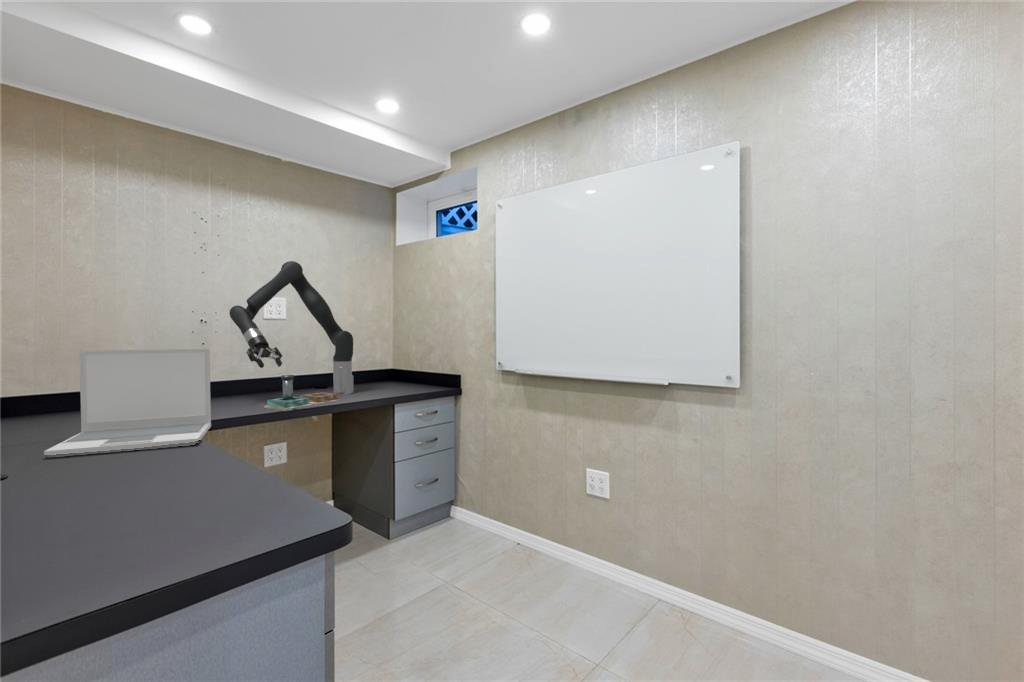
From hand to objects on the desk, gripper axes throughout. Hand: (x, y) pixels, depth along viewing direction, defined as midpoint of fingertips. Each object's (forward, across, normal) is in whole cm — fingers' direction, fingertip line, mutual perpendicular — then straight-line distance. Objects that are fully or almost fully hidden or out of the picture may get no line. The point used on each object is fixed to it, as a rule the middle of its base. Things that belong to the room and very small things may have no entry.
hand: (271, 366), depth 215 cm
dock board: (+21, +8, +4) cm, 23 cm away
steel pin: (+20, 0, +4) cm, 20 cm away
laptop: (+32, -63, -7) cm, 71 cm away
